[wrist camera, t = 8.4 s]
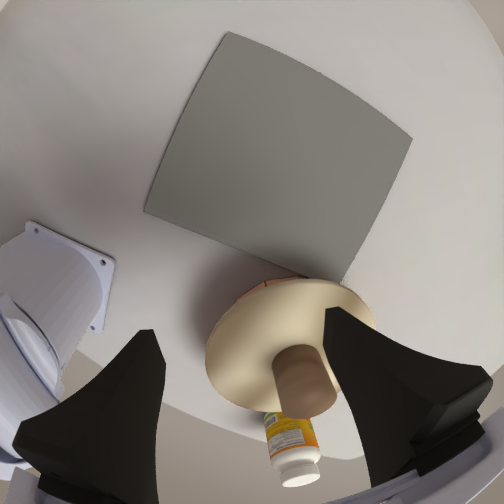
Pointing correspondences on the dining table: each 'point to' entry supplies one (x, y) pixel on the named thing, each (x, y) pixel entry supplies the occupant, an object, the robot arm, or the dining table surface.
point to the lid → (280, 347)
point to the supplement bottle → (292, 448)
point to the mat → (278, 162)
